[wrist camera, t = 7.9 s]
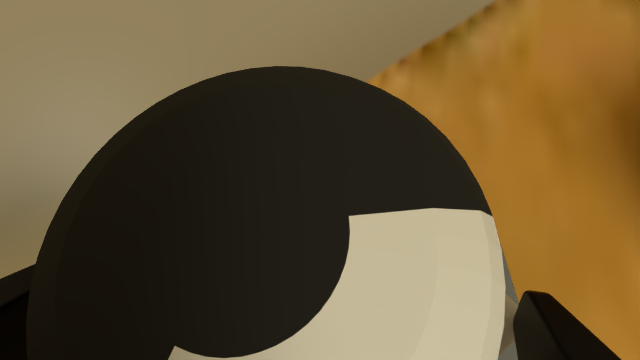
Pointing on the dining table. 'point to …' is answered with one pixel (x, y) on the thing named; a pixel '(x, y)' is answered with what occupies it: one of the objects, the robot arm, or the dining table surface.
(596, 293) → the dining table surface
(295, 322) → the medicine bottle
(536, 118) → the dining table surface
